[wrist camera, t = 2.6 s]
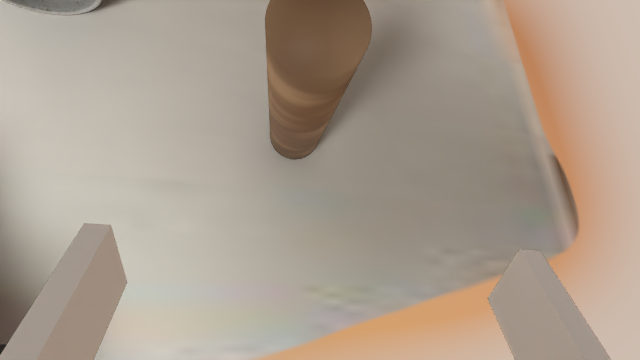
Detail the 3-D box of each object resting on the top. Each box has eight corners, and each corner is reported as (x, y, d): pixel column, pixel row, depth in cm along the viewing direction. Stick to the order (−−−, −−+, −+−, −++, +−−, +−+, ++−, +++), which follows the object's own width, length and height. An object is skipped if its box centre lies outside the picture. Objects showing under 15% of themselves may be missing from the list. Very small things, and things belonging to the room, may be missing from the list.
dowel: (268, 157, 28) (261, 69, 12) (271, 110, 29) (269, -33, 13) (317, 161, 29) (369, 80, 13) (319, 114, 29) (373, -19, 13)
